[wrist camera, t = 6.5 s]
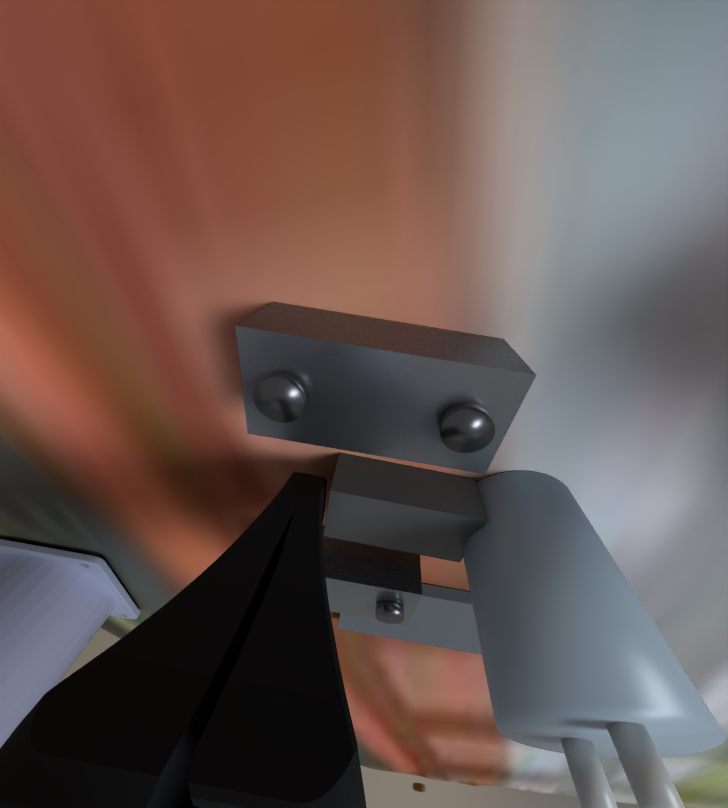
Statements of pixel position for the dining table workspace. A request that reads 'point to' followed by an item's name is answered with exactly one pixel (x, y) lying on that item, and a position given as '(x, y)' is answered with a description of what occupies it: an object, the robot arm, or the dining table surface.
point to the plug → (541, 618)
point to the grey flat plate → (429, 621)
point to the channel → (377, 416)
